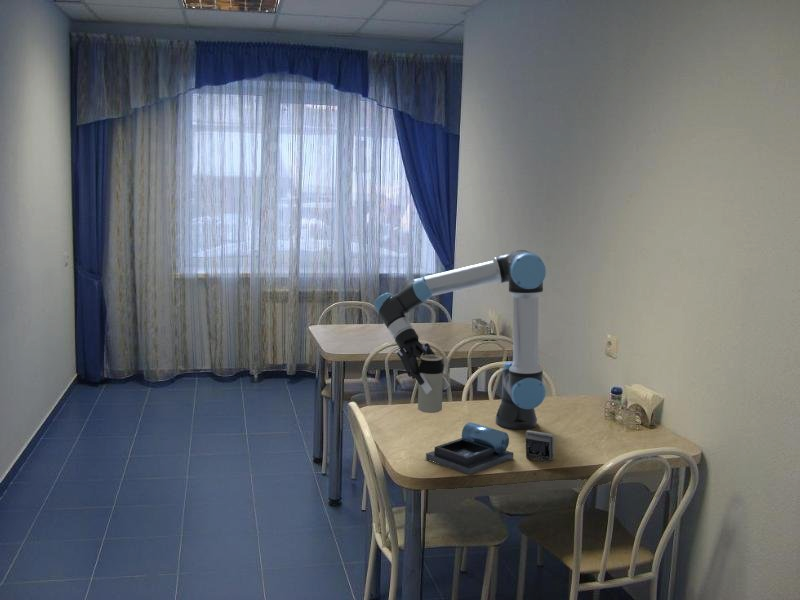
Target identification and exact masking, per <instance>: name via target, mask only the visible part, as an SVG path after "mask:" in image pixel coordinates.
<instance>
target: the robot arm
mask: <svg viewBox="0 0 800 600" xmlns="http://www.w3.org/2000/svg"><path fill="white" fill-rule="evenodd" d="M546 275H547V268H546V265H545V262H544V261H543V260H542V258H541V257H540V256H539V255H537V254H535V253H533V252H530V251H528V250H524V249H519V250H518V249H517V250H515V251H511V252H508V253H505V254H501V255H498V256H493V258H492V260H490V261H484V262H480V263H477V264H472V265H467V266H465V267H460V268H456V269H451V270H447V271H443V272H438V273H434V274H430V275H425V276H422V277H417V278H414V277H413V278H408V279H406V280H405V281H403V283H402V285H401V289H400V291H399V292H397V293H396V294H394V295H393V293H391V292H385V293H383V294H381V295H379V296H378V297H377V298H376V299H375V300H374V302H373V305H374V308H375V311H377V314H378V316H379V317H380V319H381V320H382V322H383V324H384V326H385V327H386V328H387V330H388V332H389V333H390V334H391V336H392V338H393V339H394V342H395V343H396V345H397V347H398V348H399V350H398V351H397V352H396V354H397V356H398V357H399V358H400V360H401V363H402V364H403V367H404V370H405V371H406V374H407V377H409V378H410V377H411V378H412V379H413V380H416V381H417V383H418V385H419V384H420V385H421V386H422V388H423V390H424V391H425V393H426V394H428V393H429V392H430V391H431V390H432V388H431V386H430V385H429V383H428V381H427V380H426V378H425V377H424V375H423V373H421V374H420V371H419V363H418V360H417V359H419V360H420V361H421V359H420V356H422V355H436V354H435V353H434V351H433V350H432V348H431V346H430V345H429V343H428V342H427V343H425V344H422V342H420V340H419V337H420V336H419V335H418V333H417V332H416V331H415V328H413V325H412V323H411V322H410V321H409V319H408V317H407V316H406V314H408V313H409V312H410V311H412V310H414V309H416V308H417V307H419V306H420V305H422V304H423V303H425V302H427V301H428V299H431V298H432V297H434V296H438V295H442V294H443V295H444V294H447V293H452V292H456V291H461V290H465V289H469V288H473V287H477V286H483V285H486V284H491V283H494V282H497V283H499V284H503V283H507V282H508V293H509V294H511V296H512V297H513V299H512V303H513V304H512V305H513V306H512V307H513V308H512V309H513V310H512V311H513V312H512V313H513V315H512V318H513V319H512V320H513V321H512V326H513V327H512V330H513V332H512V334H513V338H512V339H513V340H512V342H513V343H512V344H513V346H512V348H513V349H512V350H513V351H512V352H513V354H512V355H513V356H512V357H513V361H507V362H505V363H504V364H503V366H502V383H501V384H502V385H501V402H500V405H499V407H498V410H497V413H496V415H495V423H496V425H498V426H500V427H502V428H507V429H513V430H529V428H530V429H533V427H534V428H536V427H537V423H538V417H537V415H536V408H537V407H539V406H540V405H542V403H543V402H544V400H545V398H546V387H545V385H544V382H543V381H544V378H543V376H544V373H543V369H544V368H543V367H541V365H539V297H540V295H541V294H542V293H543V292H544V281H545V279H546ZM441 364H442V366H443V367H444V364H443V362H442V361H441ZM448 387H450V383H449V381H448V379H447V378H446V374H445V373H443V390H446V389H447V388H448ZM535 426H536V427H535Z"/></svg>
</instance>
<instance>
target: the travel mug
mask: <svg viewBox="0 0 800 600" xmlns="http://www.w3.org/2000/svg"><path fill="white" fill-rule="evenodd" d="M420 359H421V360H420ZM420 359H419V360H420V364H418V367H419V371H420V374H421V373H423V375H424V377H425V378H426V380H427V381H428V383H429V385H430V386H431V388H432V390H431V391H430V392H429V393H428V394H426V393H425V391H424V390H423V388H422V386H421V385H420V384H419V383H418V389H417V390H418V391H417V394H418V396H417V410H418V411H420V412H422V413H426V414H427V413H428V414H435V413H439V412H441V411H442V410H443V390H444V389H443V374H444V366H442V364H443V363H442V364H441V362H442V360H443V356H441V355H438V354H435V355H423V354H422V355H421V356H420Z"/></svg>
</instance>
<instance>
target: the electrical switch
mask: <svg viewBox="0 0 800 600" xmlns="http://www.w3.org/2000/svg"><path fill="white" fill-rule="evenodd" d="M555 439H556V438H555V435H554V433H553V434H552V433H547V432H540V431H534V430H529V429H527V430H526V432H525V455H526V456H525V457H526V459H528V458H530V459H529V460H533V459H535V460H534V461H539V460H540V462H546V463H550V462H551V461H552V460H551V459H553V460H555V457H556V453H555V452H556V451H555V448H556V447H555V444H556V443H555Z"/></svg>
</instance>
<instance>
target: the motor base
mask: <svg viewBox="0 0 800 600" xmlns="http://www.w3.org/2000/svg"><path fill="white" fill-rule="evenodd" d="M509 443H510V436H509V434H508V432H505V431H502V430H499V429H496V428H492V427H488V426H485V425H482V424H478V423H475V422H471V421H469V422H467V423H465V425H464V426H463V429H462V432H461V438H458V439H455V440H452V441H449V442H446V443H442V444H440V445H436V446H434V450H432V451H430V452H427V453H426V454H425V460H426V459H428V460H427V461H429V460H431V461H434V462H436V463H435V464H437V463H439V464H438V465H440V464H441V465H440V466H443V467H446V468H449V469H451V470H454V471H458V472H461V473H463V474H465V475H468V476H472V475H474V474H477V473H479V472H482V471H484V470H487V469H490V468H493V467H495V466H498V465H500V464H503V463H505V462H508V461H510V460H513V459H514V452H513V451H509V450H507V449H508V447H509ZM431 461H430V462H431ZM434 462H433V463H434Z"/></svg>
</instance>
